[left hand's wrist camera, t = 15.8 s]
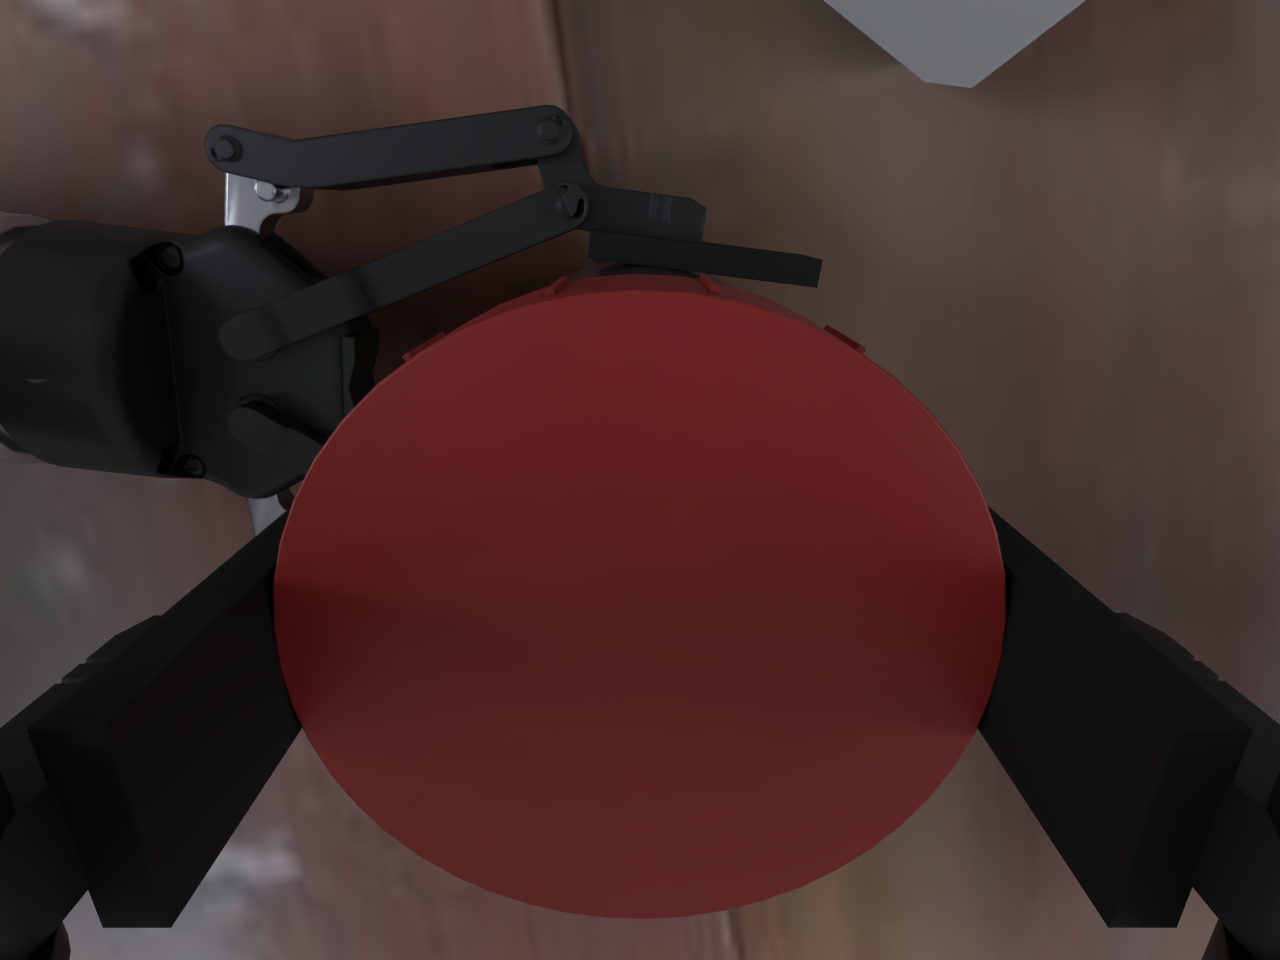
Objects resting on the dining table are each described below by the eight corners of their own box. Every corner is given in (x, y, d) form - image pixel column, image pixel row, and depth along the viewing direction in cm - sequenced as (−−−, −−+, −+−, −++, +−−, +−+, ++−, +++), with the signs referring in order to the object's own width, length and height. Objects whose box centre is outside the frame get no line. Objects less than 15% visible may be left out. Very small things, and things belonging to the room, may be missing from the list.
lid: (831, 151, 10) (888, 133, 8) (1002, 708, 13) (1074, 806, 11) (215, 434, 11) (113, 487, 9) (511, 869, 15) (488, 985, 12)
